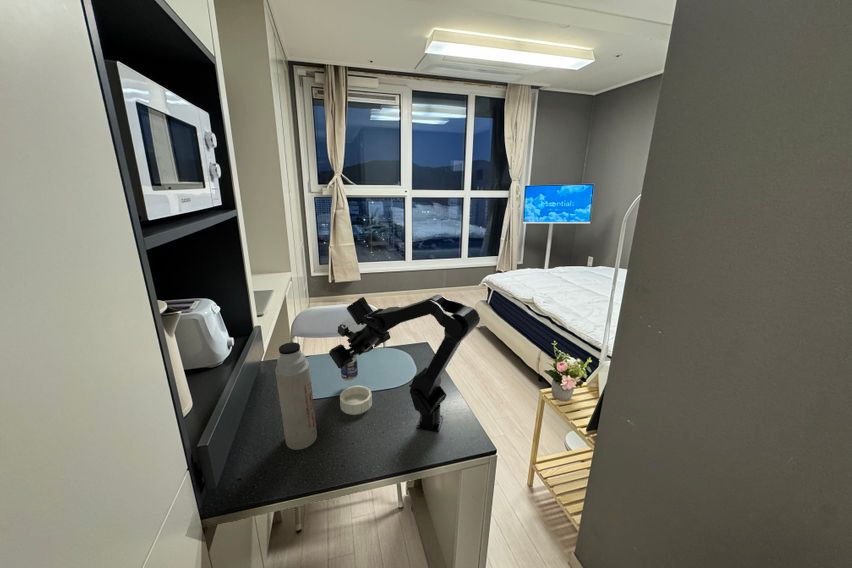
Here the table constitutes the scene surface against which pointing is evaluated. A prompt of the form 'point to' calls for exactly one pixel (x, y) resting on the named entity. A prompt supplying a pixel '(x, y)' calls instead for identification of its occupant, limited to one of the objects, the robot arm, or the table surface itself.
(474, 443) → the table surface
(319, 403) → the table surface
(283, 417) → the thermos bottle
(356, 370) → the pill bottle
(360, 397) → the bowl
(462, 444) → the table surface
